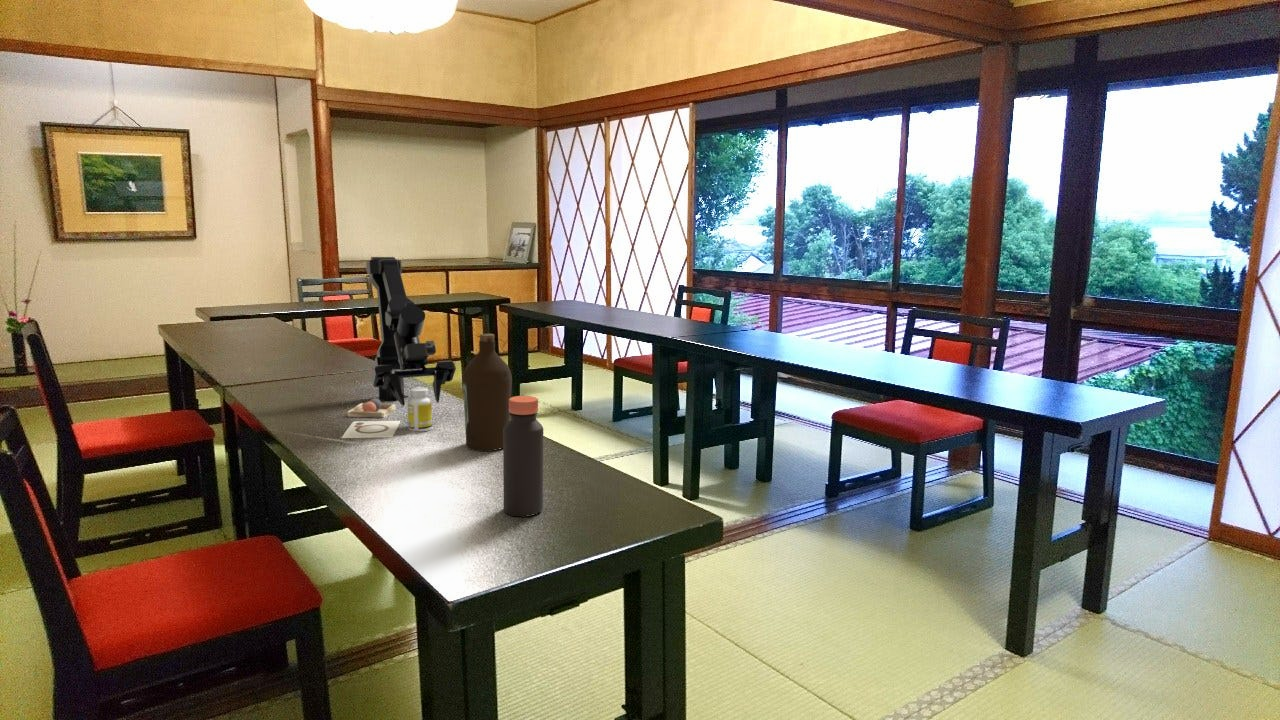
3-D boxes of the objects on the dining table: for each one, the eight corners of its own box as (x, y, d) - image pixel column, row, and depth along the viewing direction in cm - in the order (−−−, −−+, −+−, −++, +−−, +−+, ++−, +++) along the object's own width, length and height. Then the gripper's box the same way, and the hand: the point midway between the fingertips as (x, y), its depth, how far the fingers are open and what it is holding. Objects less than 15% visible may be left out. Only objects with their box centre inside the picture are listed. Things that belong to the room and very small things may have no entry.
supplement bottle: (435, 426, 181) (434, 387, 179) (426, 433, 176) (426, 392, 174) (413, 425, 181) (412, 386, 180) (404, 431, 176) (403, 390, 174)
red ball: (368, 412, 191) (368, 399, 190) (379, 413, 190) (378, 401, 189) (360, 414, 188) (359, 402, 187) (370, 416, 187) (370, 403, 186)
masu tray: (361, 409, 195) (361, 403, 195) (396, 410, 195) (395, 404, 195) (347, 418, 186) (347, 411, 186) (384, 419, 186) (383, 412, 186)
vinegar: (508, 520, 127) (508, 405, 123) (499, 506, 133) (499, 395, 129) (547, 515, 129) (548, 402, 126) (536, 501, 135) (537, 393, 132)
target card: (353, 423, 182) (353, 421, 182) (400, 422, 184) (400, 420, 184) (341, 439, 168) (341, 437, 168) (392, 438, 170) (392, 436, 170)
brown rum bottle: (514, 439, 173) (514, 331, 168) (508, 453, 163) (508, 338, 158) (468, 438, 173) (466, 330, 168) (459, 452, 162) (457, 337, 158)
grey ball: (374, 408, 194) (373, 396, 194) (384, 410, 193) (383, 397, 193) (365, 411, 191) (365, 399, 191) (375, 412, 190) (375, 400, 190)
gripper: (372, 331, 173) (383, 387, 166) (453, 327, 182) (466, 381, 175) (367, 358, 181) (378, 414, 174) (445, 354, 190) (457, 406, 183)
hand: (421, 403), depth 176 cm, fingers open, 8 cm apart
